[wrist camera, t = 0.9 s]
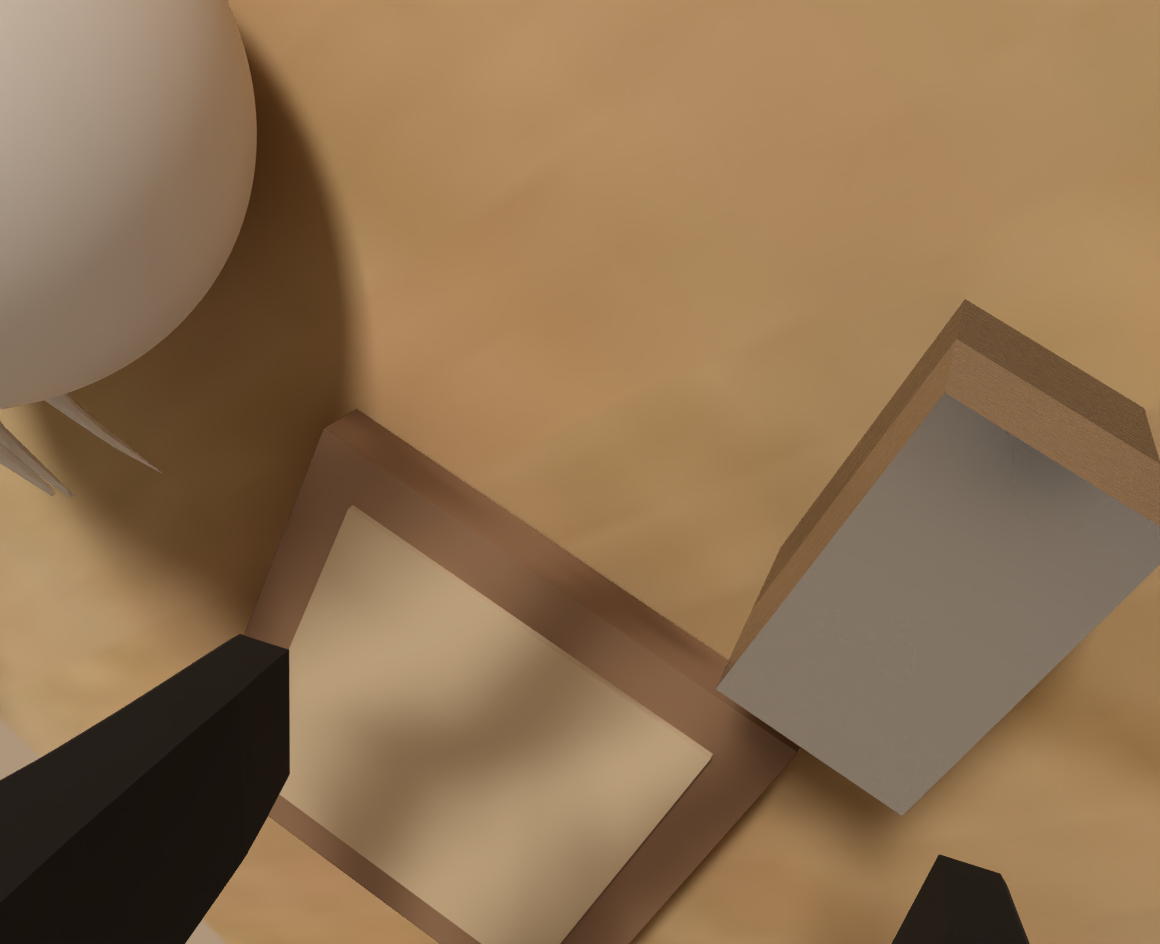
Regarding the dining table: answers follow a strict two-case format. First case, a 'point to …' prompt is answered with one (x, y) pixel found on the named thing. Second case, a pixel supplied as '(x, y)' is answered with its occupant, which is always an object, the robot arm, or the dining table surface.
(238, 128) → the cat head
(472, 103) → the dining table surface
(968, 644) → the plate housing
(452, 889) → the walnut picture frame
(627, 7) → the dining table surface
